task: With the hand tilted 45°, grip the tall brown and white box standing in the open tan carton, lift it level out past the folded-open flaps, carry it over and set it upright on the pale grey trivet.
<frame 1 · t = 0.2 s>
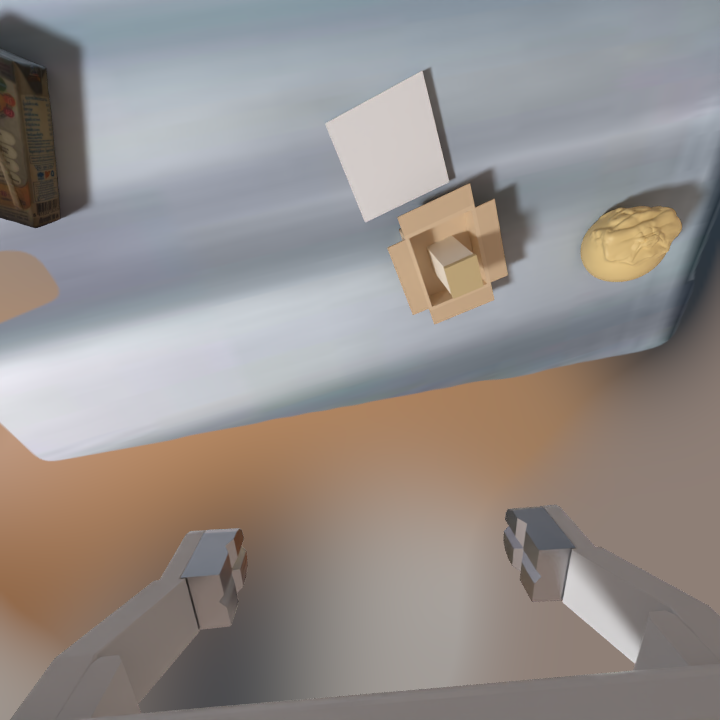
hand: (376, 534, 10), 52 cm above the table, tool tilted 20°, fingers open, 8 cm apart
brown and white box: (442, 254, 58), resting on carton
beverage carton: (25, 139, 45), on the table
carton: (442, 253, 58), on the table
sculpture: (602, 236, 59), on the table
trivet: (389, 153, 49), on the table
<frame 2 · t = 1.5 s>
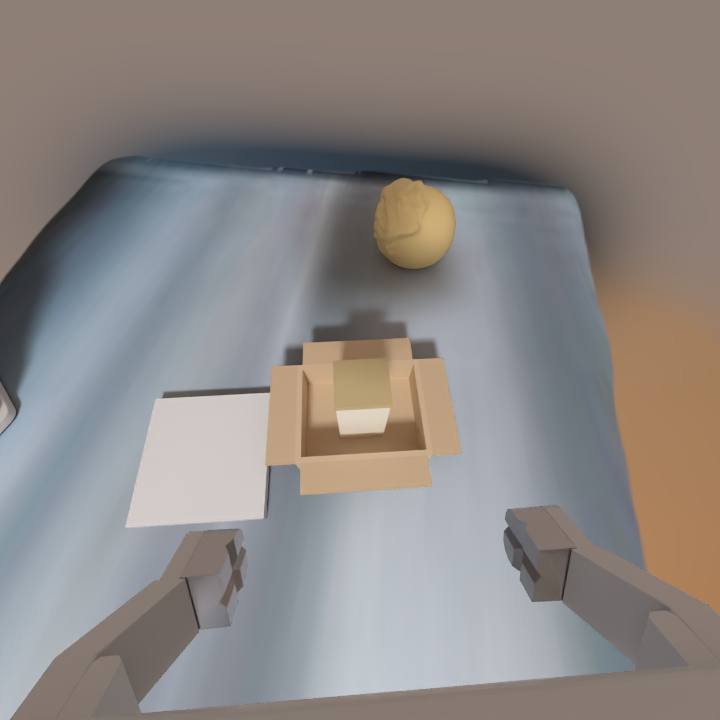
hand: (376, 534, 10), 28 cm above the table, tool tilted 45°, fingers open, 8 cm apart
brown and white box: (360, 418, 40), resting on carton
carton: (360, 419, 41), on the table
sculpture: (409, 252, 54), on the table
trivet: (209, 456, 39), on the table
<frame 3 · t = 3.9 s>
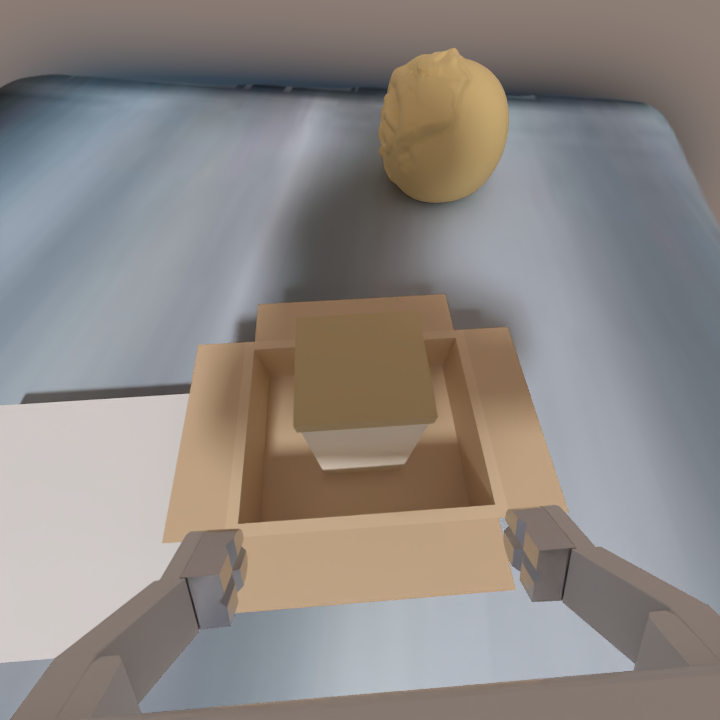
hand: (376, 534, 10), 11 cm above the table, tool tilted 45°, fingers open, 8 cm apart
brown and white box: (361, 437, 23), resting on carton
carton: (361, 438, 23), on the table
sculpture: (430, 184, 36), on the table
trivet: (84, 509, 21), on the table
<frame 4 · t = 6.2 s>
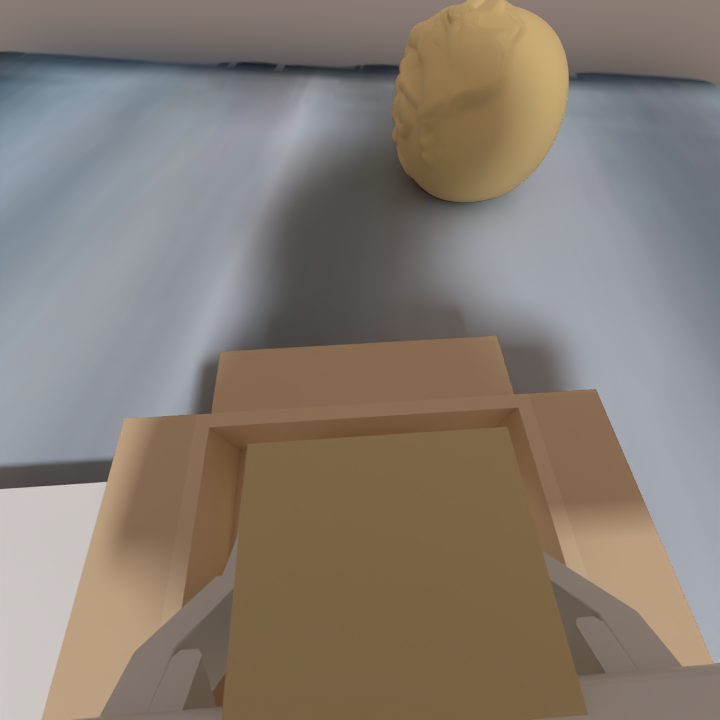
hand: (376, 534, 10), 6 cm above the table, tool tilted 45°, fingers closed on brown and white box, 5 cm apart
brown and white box: (372, 550, 15), resting on carton, touching gripper
carton: (372, 550, 16), on the table
sculpture: (455, 179, 29), on the table
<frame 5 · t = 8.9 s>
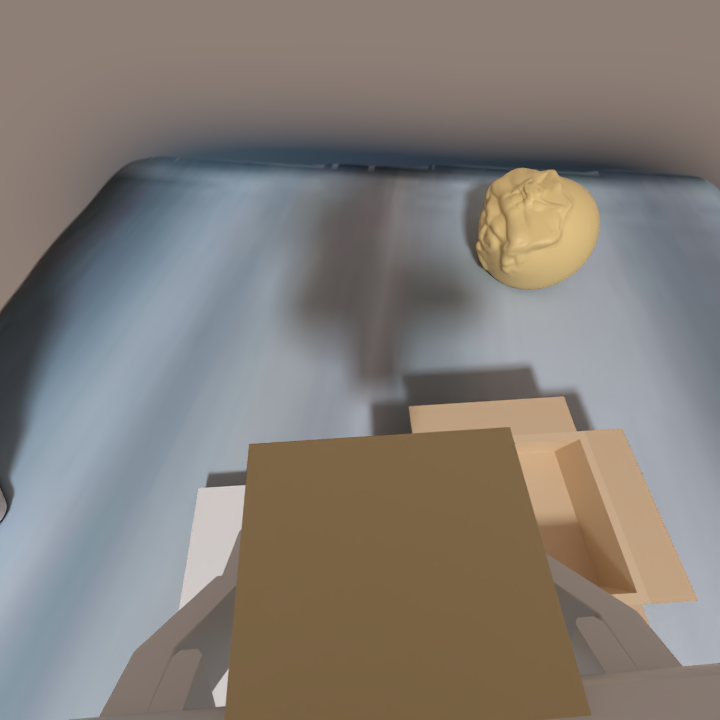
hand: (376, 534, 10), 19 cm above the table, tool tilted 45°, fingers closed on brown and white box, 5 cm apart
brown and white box: (373, 551, 15), point 13 cm above the table, touching gripper
carton: (494, 517, 28), on the table
sculpture: (515, 267, 41), on the table
trivet: (279, 579, 26), on the table
when the fingers open (9 cm above the table, at t = 12.0 s): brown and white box drops 2 cm, resting on trivet.
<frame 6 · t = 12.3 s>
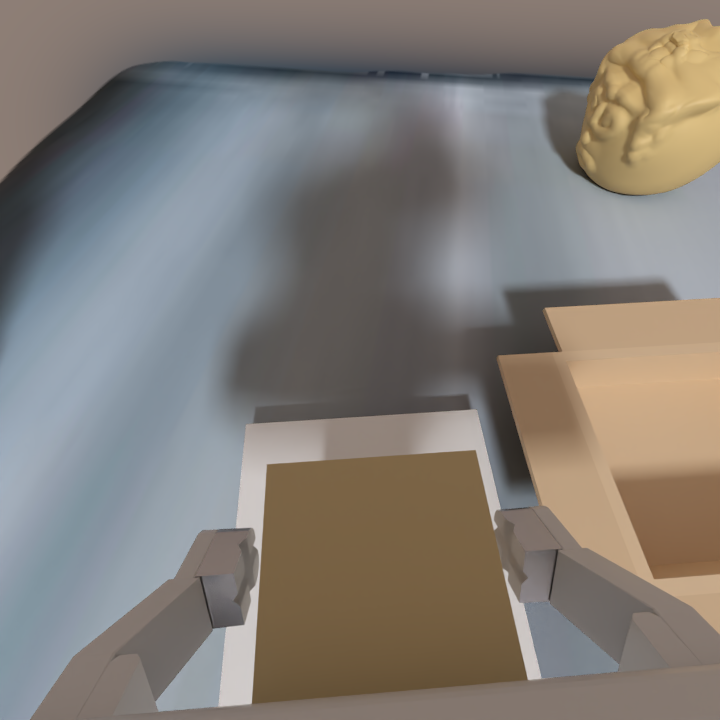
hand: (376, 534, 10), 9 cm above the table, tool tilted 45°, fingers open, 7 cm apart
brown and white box: (370, 550, 17), point 1 cm above the table, touching trivet
carton: (661, 463, 20), on the table
sculpture: (618, 175, 33), on the table
trivet: (371, 548, 18), on the table
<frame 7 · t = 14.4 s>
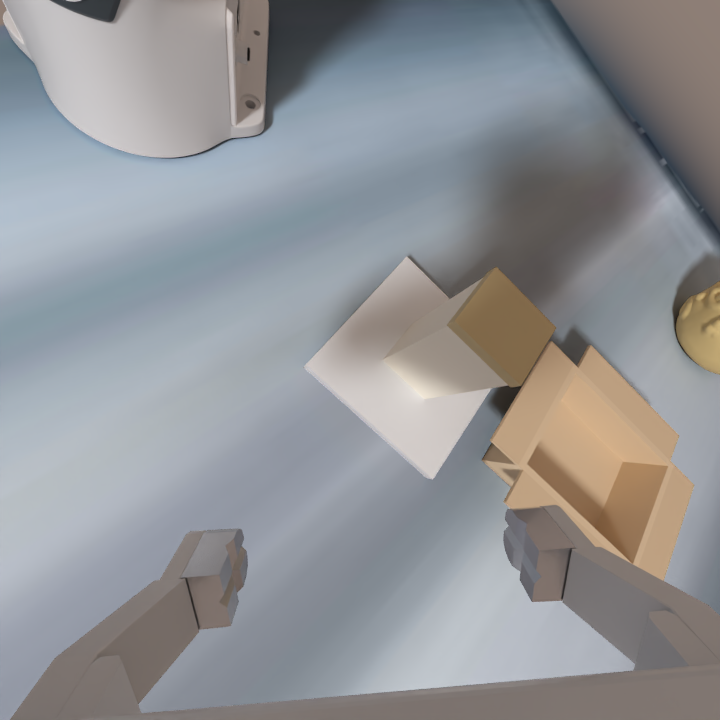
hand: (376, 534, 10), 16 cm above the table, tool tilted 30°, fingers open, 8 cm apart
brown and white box: (418, 360, 29), point 1 cm above the table, touching trivet
carton: (558, 460, 33), on the table
sculpture: (691, 336, 44), on the table
trivet: (412, 363, 30), on the table
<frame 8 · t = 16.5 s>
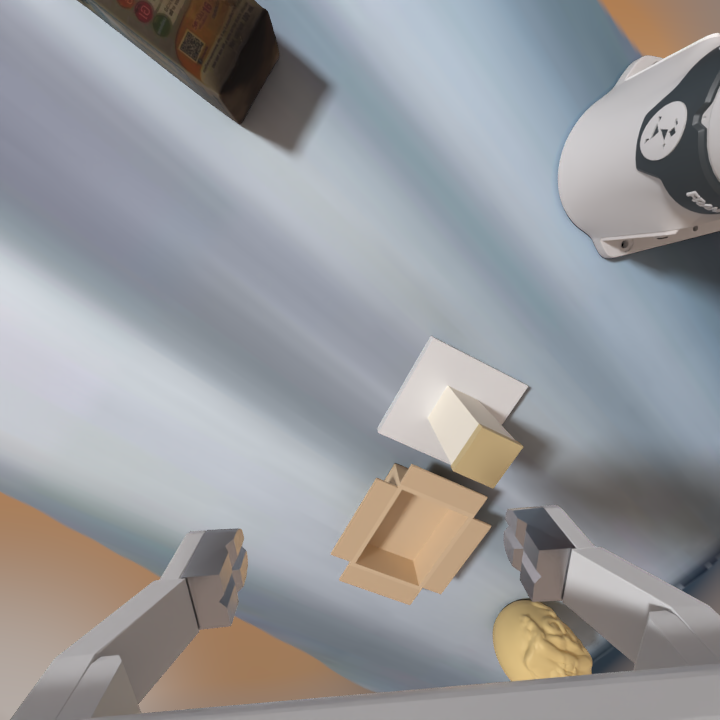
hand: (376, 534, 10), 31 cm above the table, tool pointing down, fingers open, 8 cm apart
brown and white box: (452, 409, 42), point 1 cm above the table, touching trivet
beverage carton: (174, 23, 31), on the table
carton: (405, 515, 48), on the table
sculpture: (519, 613, 56), on the table
trivet: (449, 405, 44), on the table
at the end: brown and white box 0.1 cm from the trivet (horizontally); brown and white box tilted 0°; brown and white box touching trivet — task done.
